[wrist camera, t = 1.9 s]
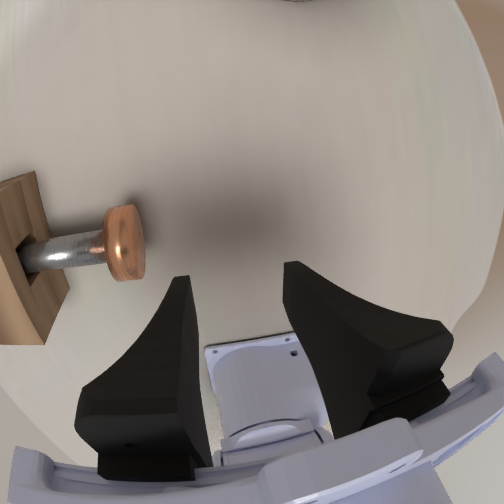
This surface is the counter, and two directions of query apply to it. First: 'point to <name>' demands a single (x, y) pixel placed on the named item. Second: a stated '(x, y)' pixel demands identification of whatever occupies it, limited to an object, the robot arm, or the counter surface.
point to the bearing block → (11, 272)
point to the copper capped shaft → (93, 247)
